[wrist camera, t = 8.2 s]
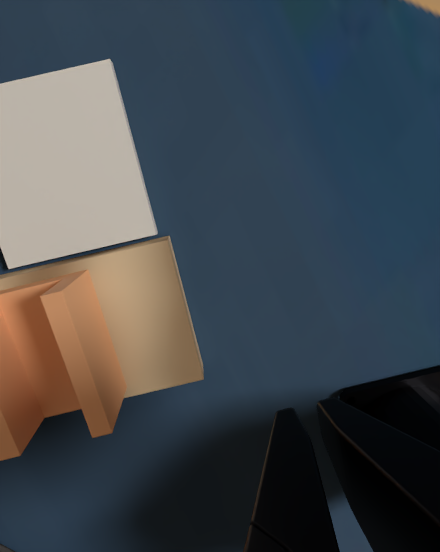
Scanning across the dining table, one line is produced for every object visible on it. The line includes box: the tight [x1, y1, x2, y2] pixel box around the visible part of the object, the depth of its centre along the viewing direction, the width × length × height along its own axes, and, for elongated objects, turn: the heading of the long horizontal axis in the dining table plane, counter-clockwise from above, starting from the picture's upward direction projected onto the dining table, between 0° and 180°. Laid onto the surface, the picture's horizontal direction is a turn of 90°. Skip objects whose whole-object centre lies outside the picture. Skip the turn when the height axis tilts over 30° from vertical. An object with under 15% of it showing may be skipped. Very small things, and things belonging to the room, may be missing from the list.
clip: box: [0, 269, 127, 461], centre depth 16 cm, size 4×6×4 cm
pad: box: [0, 59, 158, 269], centre depth 17 cm, size 7×8×1 cm
